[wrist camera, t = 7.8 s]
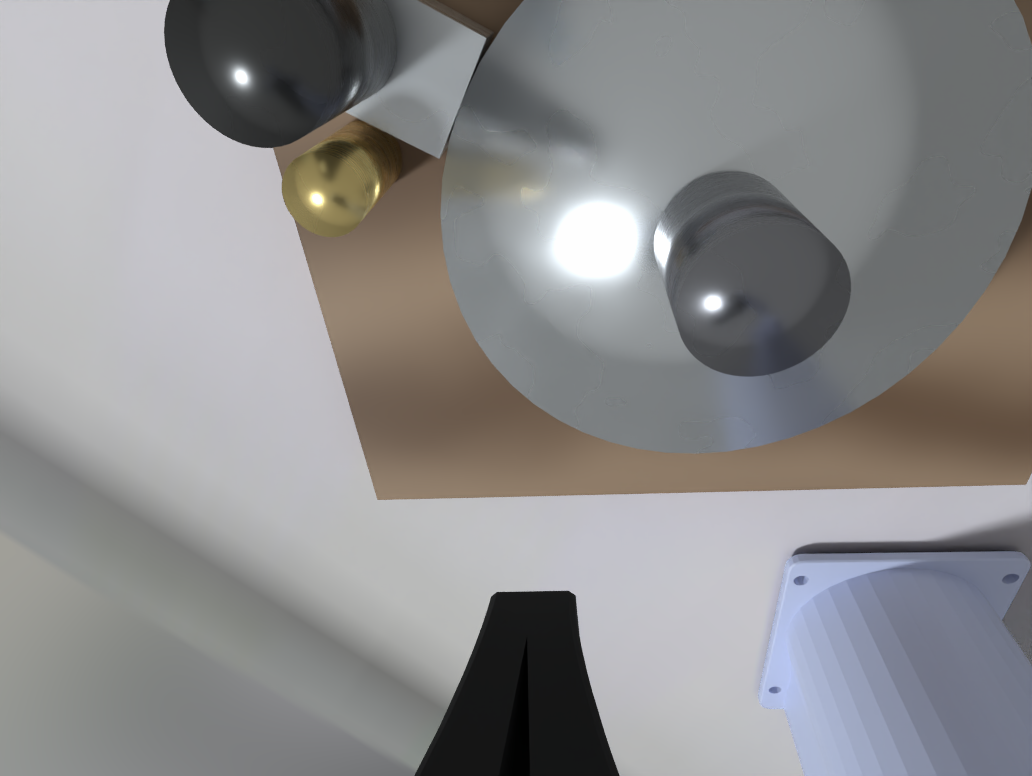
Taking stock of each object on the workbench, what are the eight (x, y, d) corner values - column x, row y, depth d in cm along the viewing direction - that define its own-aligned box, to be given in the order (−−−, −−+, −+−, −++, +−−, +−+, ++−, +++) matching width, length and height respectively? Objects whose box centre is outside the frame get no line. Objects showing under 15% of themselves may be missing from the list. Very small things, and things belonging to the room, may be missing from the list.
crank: (1133, 82, 12) (1466, 142, 8) (756, 476, 19) (818, 638, 14) (384, -427, 9) (213, -814, 5) (235, 248, 16) (99, 358, 11)
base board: (1002, 458, 19) (1026, 484, 18) (386, 475, 22) (377, 499, 21) (1491, -661, 8) (1615, -747, 7) (143, -398, 11) (99, -439, 10)
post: (780, 296, 14) (833, 373, 11) (652, 303, 14) (672, 379, 11) (801, 165, 12) (867, 218, 9) (655, 176, 12) (680, 231, 10)
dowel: (408, 188, 15) (373, 234, 12) (343, 193, 15) (295, 239, 12) (395, 116, 14) (354, 149, 11) (326, 122, 14) (270, 156, 11)
